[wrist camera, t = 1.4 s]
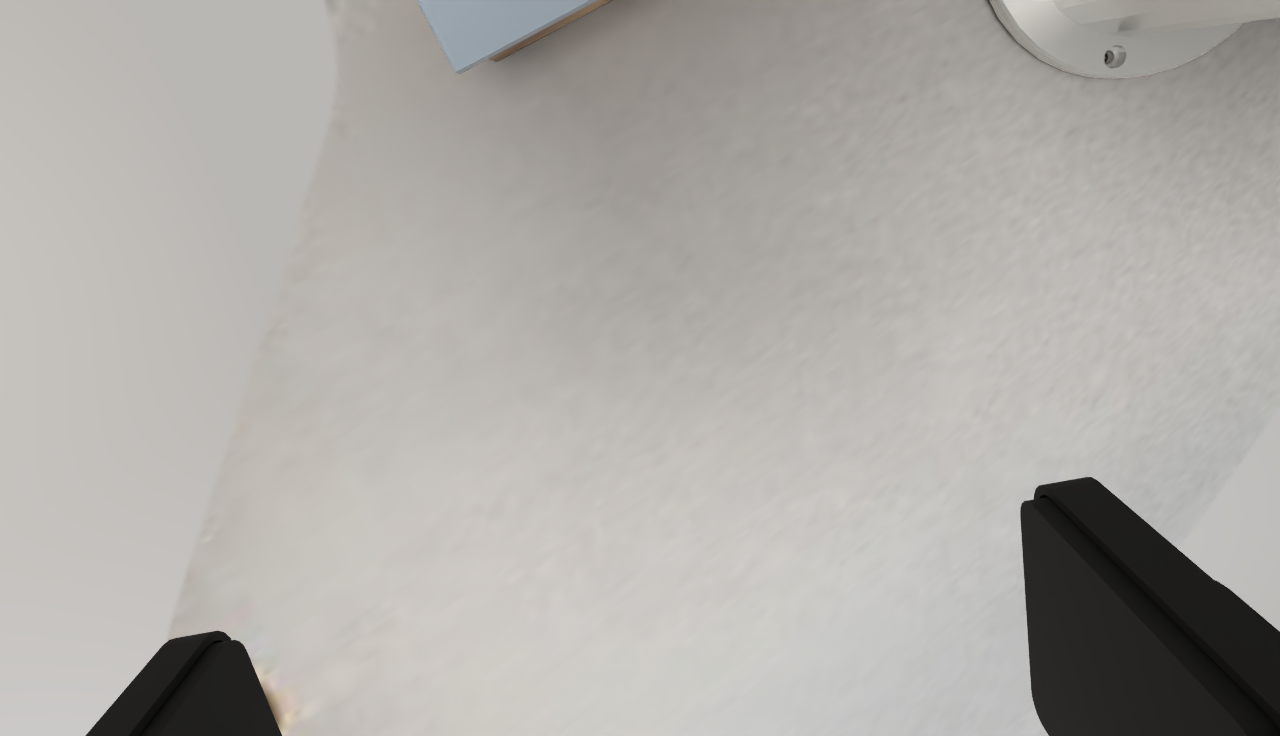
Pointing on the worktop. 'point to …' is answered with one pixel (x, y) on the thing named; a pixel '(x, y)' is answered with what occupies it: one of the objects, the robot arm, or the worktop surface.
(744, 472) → the worktop surface
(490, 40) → the lid
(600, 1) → the box
